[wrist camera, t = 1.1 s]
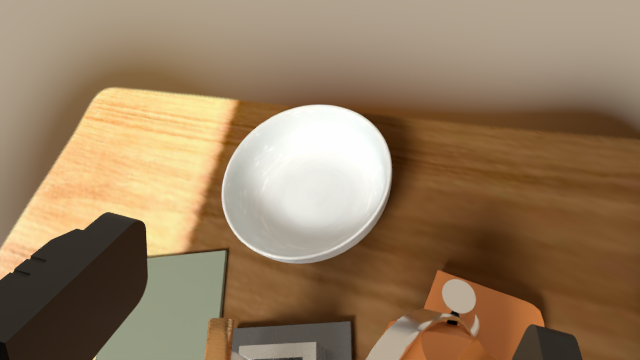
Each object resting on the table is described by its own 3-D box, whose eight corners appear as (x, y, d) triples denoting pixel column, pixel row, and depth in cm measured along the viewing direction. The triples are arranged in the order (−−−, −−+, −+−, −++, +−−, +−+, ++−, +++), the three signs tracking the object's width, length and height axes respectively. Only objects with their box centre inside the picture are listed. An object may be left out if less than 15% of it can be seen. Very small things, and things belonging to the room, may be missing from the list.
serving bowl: (434, 185, 61) (430, 156, 55) (318, 314, 57) (301, 298, 51) (317, 108, 71) (304, 77, 66) (213, 213, 67) (188, 190, 62)
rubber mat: (214, 385, 56) (212, 385, 56) (92, 390, 60) (89, 389, 59) (227, 252, 64) (225, 250, 63) (118, 262, 67) (116, 261, 67)
